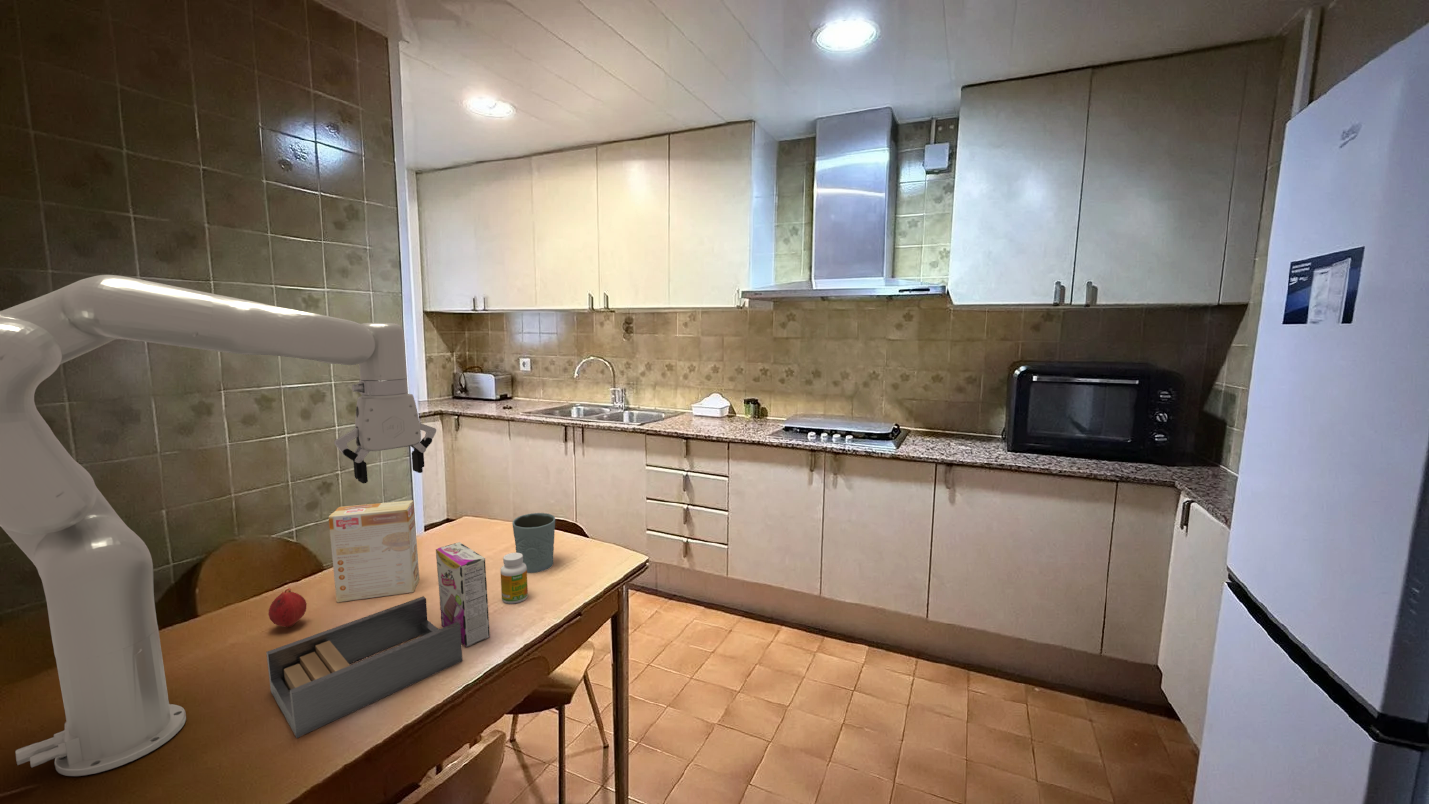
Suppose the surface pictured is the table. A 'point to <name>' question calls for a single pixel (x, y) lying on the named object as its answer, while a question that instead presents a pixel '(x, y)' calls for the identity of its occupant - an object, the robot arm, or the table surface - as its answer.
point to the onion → (287, 608)
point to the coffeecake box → (374, 550)
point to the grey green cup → (535, 540)
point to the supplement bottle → (514, 579)
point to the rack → (358, 664)
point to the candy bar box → (463, 591)
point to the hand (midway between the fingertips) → (391, 476)
